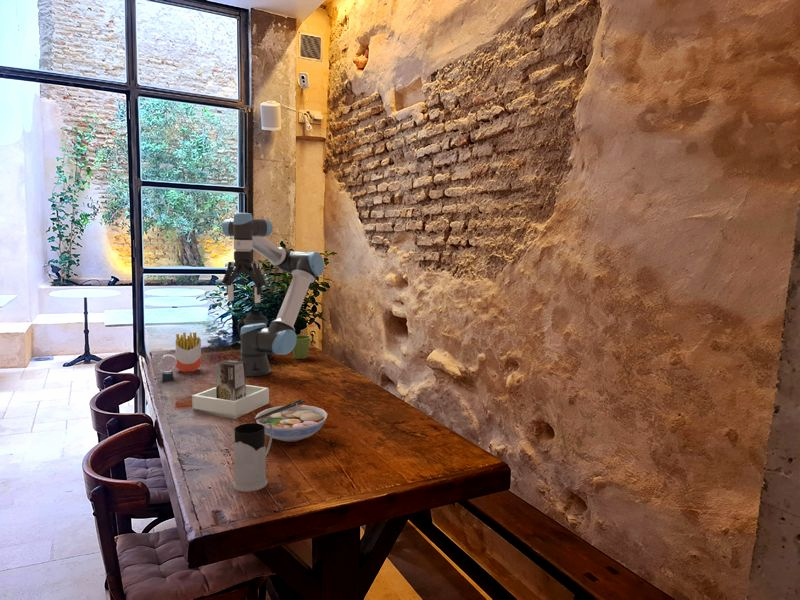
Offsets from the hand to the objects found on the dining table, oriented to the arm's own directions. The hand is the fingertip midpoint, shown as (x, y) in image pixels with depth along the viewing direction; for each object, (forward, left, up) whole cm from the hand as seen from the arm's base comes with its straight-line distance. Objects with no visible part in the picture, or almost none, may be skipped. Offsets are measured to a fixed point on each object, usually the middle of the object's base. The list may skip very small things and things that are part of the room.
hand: (244, 301), depth 223 cm
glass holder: (+58, -70, -37) cm, 98 cm away
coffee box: (+12, -24, -36) cm, 45 cm away
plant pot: (-10, +59, -37) cm, 70 cm away
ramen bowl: (+50, -41, -37) cm, 74 cm away
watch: (-39, -4, -37) cm, 54 cm away
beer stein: (-31, +47, -37) cm, 67 cm away
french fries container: (-42, +12, -37) cm, 57 cm away
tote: (+13, -24, -37) cm, 46 cm away
